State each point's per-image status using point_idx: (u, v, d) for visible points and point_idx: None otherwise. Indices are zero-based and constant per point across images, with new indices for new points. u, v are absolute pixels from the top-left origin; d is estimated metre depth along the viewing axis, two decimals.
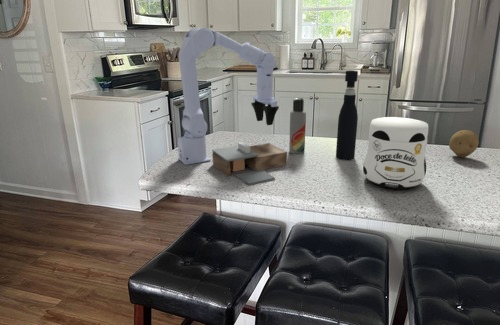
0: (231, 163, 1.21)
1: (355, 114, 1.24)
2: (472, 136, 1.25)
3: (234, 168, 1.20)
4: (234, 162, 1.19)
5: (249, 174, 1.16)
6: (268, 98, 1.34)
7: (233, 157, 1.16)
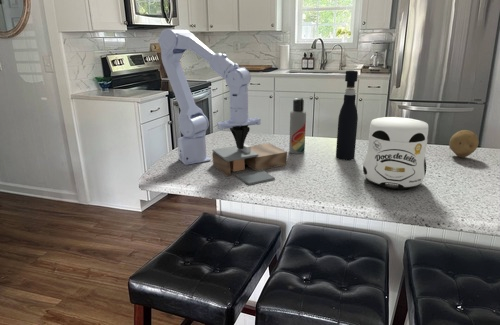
0: (231, 163, 1.21)
1: (355, 114, 1.24)
2: (472, 136, 1.25)
3: (234, 168, 1.20)
4: (234, 162, 1.19)
5: (249, 174, 1.16)
6: (231, 120, 1.18)
7: (233, 157, 1.16)
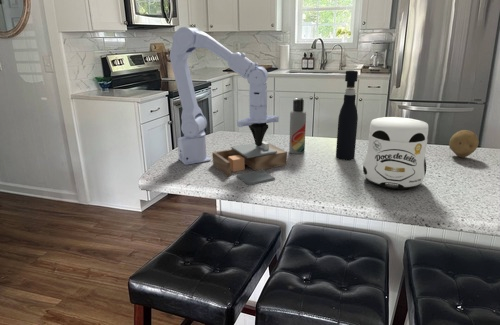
0: (231, 163, 1.21)
1: (355, 114, 1.24)
2: (472, 136, 1.25)
3: (234, 168, 1.20)
4: (234, 162, 1.19)
5: (249, 174, 1.16)
6: (250, 118, 1.21)
7: (253, 154, 1.19)
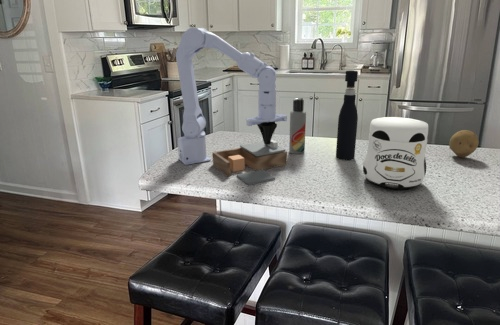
0: (231, 163, 1.21)
1: (355, 114, 1.24)
2: (472, 136, 1.25)
3: (234, 168, 1.20)
4: (234, 162, 1.19)
5: (249, 174, 1.16)
6: (259, 117, 1.22)
7: (262, 152, 1.21)
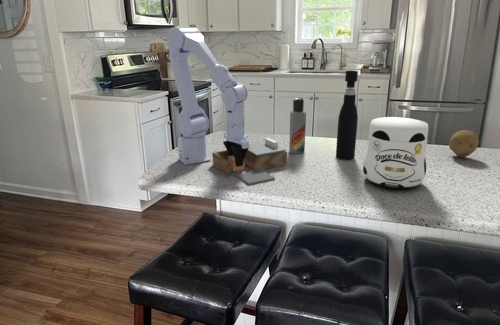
0: (231, 163, 1.20)
1: (355, 114, 1.24)
2: (472, 136, 1.25)
3: (234, 167, 1.20)
4: (234, 161, 1.19)
5: (249, 174, 1.16)
6: (239, 137, 1.16)
7: (262, 152, 1.21)
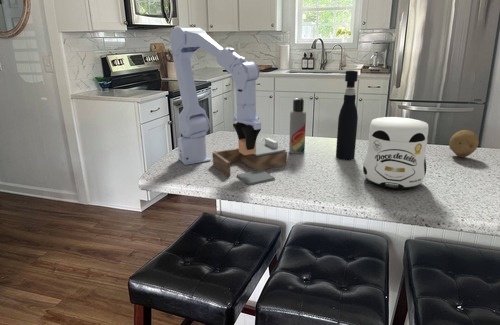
0: (242, 146, 1.13)
1: (355, 114, 1.24)
2: (472, 136, 1.25)
3: (245, 151, 1.13)
4: (245, 145, 1.12)
5: (249, 174, 1.16)
6: (250, 118, 1.09)
7: (262, 152, 1.21)
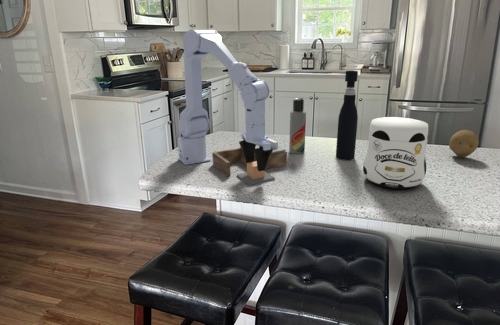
0: (250, 170, 1.12)
1: (355, 114, 1.24)
2: (472, 136, 1.25)
3: (254, 175, 1.12)
4: (254, 169, 1.11)
5: None
6: (259, 138, 1.08)
7: None
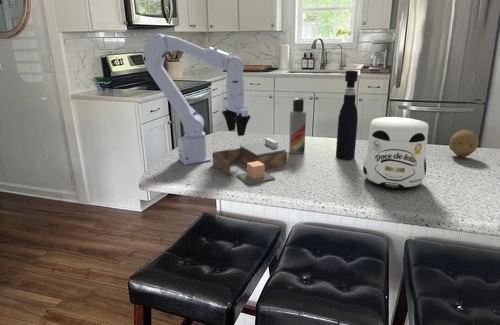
0: (250, 170, 1.12)
1: (355, 114, 1.24)
2: (472, 136, 1.25)
3: (254, 175, 1.12)
4: (254, 169, 1.11)
5: None
6: (239, 106, 1.23)
7: (262, 152, 1.21)
